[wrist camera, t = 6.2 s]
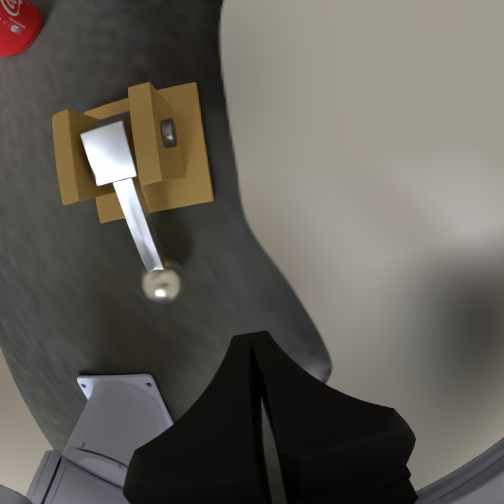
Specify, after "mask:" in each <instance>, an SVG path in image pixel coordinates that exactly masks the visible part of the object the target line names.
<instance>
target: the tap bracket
mask: <svg viewBox="0 0 504 504" xmlns="http://www.w3.org/2000/svg"><path fill="white" fill-rule="evenodd" d="M128 96H129V98H126V99H122V100H119V101H116V102H113V103H109V104H106V105H103V106H100V107H97V108H94V109H92V110H89V111H86V112H84V114H82V113H79V112H76V111H73V110H71V109H66V110H63V111H61V112H59V113H56V114H54V115H52V126H53V139H54V149H55V158H56V166H57V173H58V180H59V186H60V192H61V198H62V203H63V205H64V206H65V205H69V204H72V203H76V202H80V201H84V200H88V199H92V198H95V200H96V205H97V210H98V215H99V220H100V223H105V222H110V221H114V220H119V219H123V218H125V216H124V213H123V211H122V208H121V205H120V203H119V200H118V197H117V194H116V191H115V189H114V186H113V183H109V184H106V185H102V186H97V185H96V182H95V179H94V176H93V174H92V171H91V168H90V165H89V162H88V159H87V156H86V153H85V150H84V147H83V143H82V140H81V137H80V134H81V133H82V132H83V131H84V130H86V129H87V128H88V127H89V126H91V125H92V124H93V123H95V122H96V121H97V120H100V119H104V118H107V117H110V116H113V115H116V114H120V113H123V112H127V111H130V116H131V124H132V133H133V140H134V148H135V155H136V161H137V168H138V174H139V175H138V179H139V182H140V185H141V188H142V192H143V195H144V198H145V201H146V204H147V207H148V210H149V213H152V212H157V211H162V210H167V209H173V208H178V207H183V206H189V205H194V204H200V203H206V202H211V201H214V195H213V189H212V182H211V176H210V170H209V163H208V157H207V150H206V144H205V137H204V130H203V123H202V116H201V109H200V102H199V95H198V88H197V84H196V82H193V83H188V84H183V85H178V86H173V87H169V88H164V89H160V90H156V89H155V88H154V86H153V85H152V84H151V83H150V82H146V83H143V84H139V85H135V86H132V87H129V88H128Z"/></svg>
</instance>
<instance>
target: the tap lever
mask: <svg viewBox="0 0 504 504" xmlns="http://www.w3.org/2000/svg"><path fill="white" fill-rule="evenodd" d="M80 137H81V140H82V143H83V147H84V150H85V153H86V156H87V159H88V162H89V165H90V168H91V171H92V174H93V176H94V179H95V182H96V185H97V186H102V185H106V184H109V183H113V186H114V189H115V191H116V194H117V197H118V200H119V203H120V205H121V208H122V211H123V213H124V216H125V219H126V221H127V224H128V227H129V229H130V232H131V234H132V237H133V239H134V242H135V244H136V246H137V249H138V251H139V254H140V256H141V258H142V261H143V263H144V265H145V266H144V268H143V269H142V271H141V274H140V286H141V290H142V292H143V293H144V295H145V296H146V297H147V298H148V299H149V300H150V301H152V302H154V303H157V304H170V303H172V302H174V301H176V300H177V299H179V298H180V296H181V295H182V294H183V292H184V290H185V286H186V276H185V273H184V270H183V268H182V267H181V266H180V265H179V264H178V263H177V262H176V261H175V260H173V259H170V258H166V257H165V256H164V254H163V251H162V248H161V245H160V242H159V240H158V237H157V234H156V231H155V228H154V225H153V222H152V219H151V216H150V213H149V210H148V207H147V204H146V201H145V198H144V195H143V192H142V188H141V185H140V182H139V179H138V175H139V174H138V168H137V161H136V155H135V148H134V140H133V133H132V124H131V116H130V111H127V112H123V113H120V114H116V115H113V116H110V117H107V118H104V119H100V120H97V121H96V122H95V123H93V124H92V125H91V126H89V127H88V128H87V129H86V130H84V131H83V132H82V133H81V134H80Z"/></svg>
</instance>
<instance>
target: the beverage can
mask: <svg viewBox="0 0 504 504" xmlns="http://www.w3.org/2000/svg"><path fill="white" fill-rule="evenodd" d="M42 23H43V20H42V17H41V15H40V10H39V9H38V8H37V7H36V6H35V5H33V4H32V3H31V2H29V1H28V0H0V56H3V57H7V56H11V55H12V56H15V55H18V54H20V53H22V52H24V51H25V50H26V49H27V48H28V47H30V45H31V44H32V43H33V42H34V41H35V39H36V38H37V36H38V34H39V33H40V30H41V28H42Z"/></svg>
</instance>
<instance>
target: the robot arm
mask: <svg viewBox="0 0 504 504" xmlns="http://www.w3.org/2000/svg"><path fill="white" fill-rule="evenodd" d="M77 381H78V383H79V385H80V387H81V389H82V390H83V392H84V394H85V396H86V397H87V399H88V402H87V404H86V406H85V408H84V410H83V412H82V414H81V416H80V418H79V420H78V422H77V424H76V426H75V428H74V431H73V433H72V435H71V437H70V439H69V442H68V444H67V446H66V448H65V450H64V451H63V453H62V455H61V453H60V452H59V451H57V450H56V449H53V450H52V451H51V450H50V451H46V452H45V454H44V456H43V458H42V460H41V463H40V465H39V467H38V469H37V471H36V474H35V476H34V478H33V480H32V483H31V485H30V487H29V489H28V492H27V494H26V497H25V496H23V495H22V494H20V493H18V492H16V491H14V490H12V489H9V488H7V487H5V486H3V485H0V504H273V500H272V495H271V489H270V483H269V478H268V472H267V466H266V460H265V454H264V445H263V429H262V408H261V398H262V401H263V405H264V408H265V411H266V415H267V418H268V421H269V425H270V428H271V431H272V435H273V438H274V442H275V446H276V450H277V455H278V460H279V466H280V471H281V476H282V481H283V486H284V491H285V497H286V502H287V504H504V438H502V439H501V440H500V441H498V442H497V443H496V444H494V445H493V446H492V447H490V448H489V449H487V450H486V451H485V452H483V453H482V454H480V455H479V456H477V457H476V458H474V459H473V460H471V461H470V462H468V463H467V464H465V465H463V466H462V467H460V468H458V469H457V470H455V471H453V472H452V473H450V474H448V475H446V476H445V477H443V478H441V479H439V480H437V481H435V482H434V483H432V484H430V485H428V486H426V487H424V488H422V489H420V490H418V491H415V490H414V488H413V486H412V484H411V482H410V481H409V478H410V477H411V473H410V471H409V469H408V468H407V466H406V464H407V462H408V460H409V457H410V455H411V453H412V451H413V448H414V445H415V441H416V438H415V435H414V433H413V432H412V430H411V428H410V427H409V425H408V424H407V423H406V421H405V420H404V419H403V418H402V417H401V416H400V415H399V413H397V412H396V410H395V409H394V408H389V407H385V406H381V405H377V404H373V403H369V402H365V401H362V400H359V399H357V398H354V397H351V396H348V395H346V394H344V393H342V392H340V391H338V390H335V389H333V388H331V387H329V386H327V385H326V384H324V383H323V382H321V381H319V380H318V379H316V378H315V377H313V376H312V375H310V374H309V373H308V372H306V371H305V370H304V369H303V368H301V367H300V366H299V365H298V364H297V363H295V362H294V361H293V360H292V359H291V358H290V357H289V356H288V355H287V354H286V353H285V352H284V351H283V350H282V349H281V348H280V347H279V345H278V344H277V343H276V342H275V341H274V339H273V338H272V336H271V335H270V333H269V332H267V331H260V332H254V333H248V334H242V335H235V336H233V337H232V339H231V342H230V345H229V348H228V350H227V352H226V355H225V357H224V359H223V361H222V363H221V365H220V367H219V369H218V371H217V372H216V374H215V376H214V377H213V379H212V380H211V382H210V384H209V385H208V387H207V388H206V389H205V391H204V392H203V393H202V395H201V396H200V397H199V399H198V400H197V401H196V402H195V403H194V404H193V405H192V407H191V408H190V409H189V410H188V411H187V412H186V413H185V414H184V415H183V416H182V417H181V418H180V419H179V420H178V421H176V422H175V423H173V421H172V419H171V417H170V415H169V413H168V410H167V408H166V406H165V404H164V402H163V399H162V397H161V395H160V393H159V390H158V388H157V386H156V384H155V381H154V379H153V377H152V376H151V375H149V374H133V375H99V376H79V377H78V378H77ZM148 383H151V384H148ZM60 455H61V456H60Z"/></svg>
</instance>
